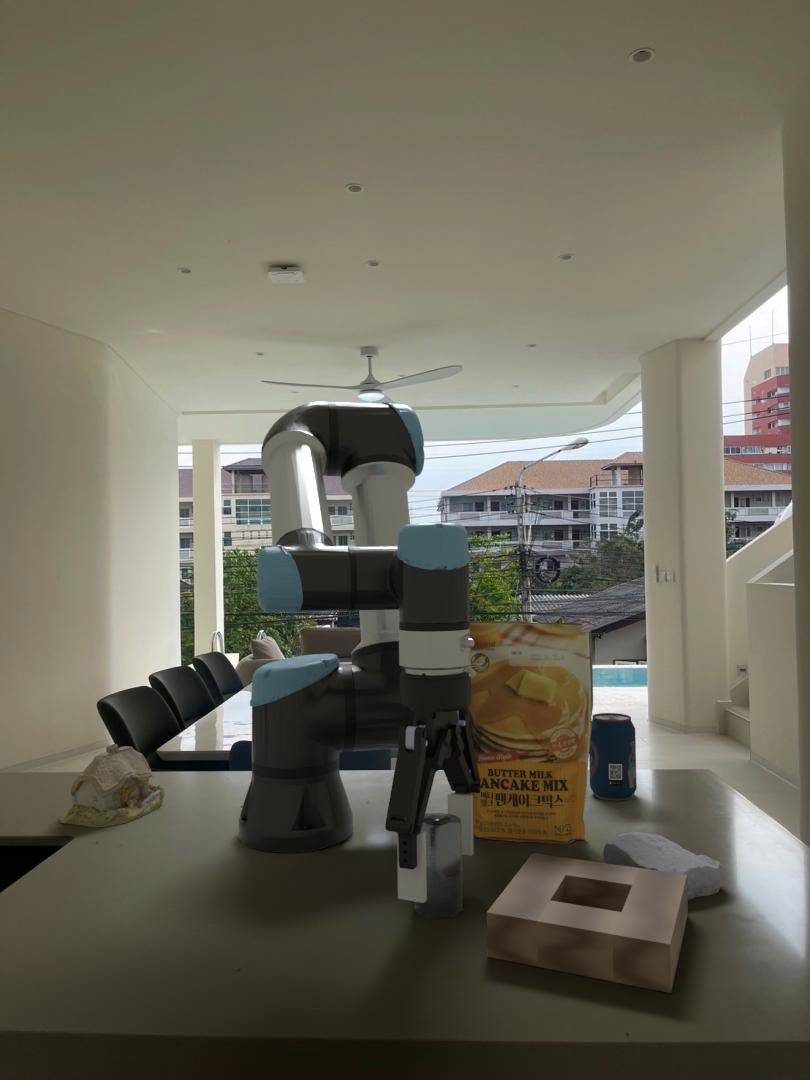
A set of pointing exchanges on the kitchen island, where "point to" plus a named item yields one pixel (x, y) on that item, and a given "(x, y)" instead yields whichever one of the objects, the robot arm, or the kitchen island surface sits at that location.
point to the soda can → (612, 757)
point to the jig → (592, 920)
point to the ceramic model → (113, 790)
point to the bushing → (442, 866)
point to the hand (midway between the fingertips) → (438, 875)
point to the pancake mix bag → (530, 729)
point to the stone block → (665, 860)
